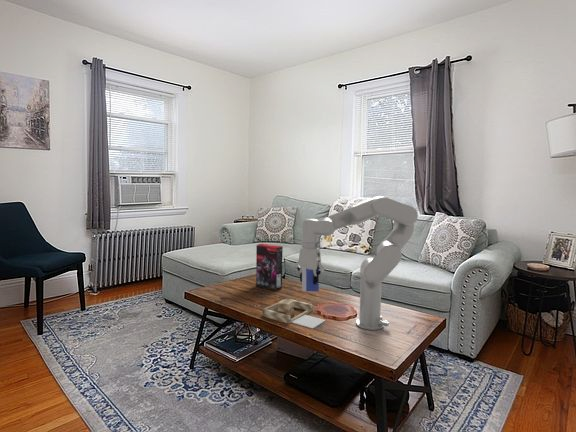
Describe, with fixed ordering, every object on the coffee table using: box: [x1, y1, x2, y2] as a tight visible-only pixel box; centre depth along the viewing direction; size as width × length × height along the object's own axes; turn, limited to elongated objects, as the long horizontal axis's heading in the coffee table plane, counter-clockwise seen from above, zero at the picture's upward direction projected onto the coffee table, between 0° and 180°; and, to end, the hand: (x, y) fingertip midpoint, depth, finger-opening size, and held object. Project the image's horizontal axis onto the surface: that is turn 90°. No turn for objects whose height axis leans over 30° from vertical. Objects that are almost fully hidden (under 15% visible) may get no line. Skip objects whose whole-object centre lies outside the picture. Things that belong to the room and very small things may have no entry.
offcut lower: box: [276, 308, 295, 318], centre depth 172 cm, size 6×6×4 cm
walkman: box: [301, 266, 320, 292], centre depth 165 cm, size 8×3×12 cm, turn 87°
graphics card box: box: [255, 243, 284, 291], centre depth 221 cm, size 17×7×27 cm, turn 54°
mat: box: [290, 314, 326, 330], centre depth 167 cm, size 12×12×1 cm
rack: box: [262, 298, 313, 324], centre depth 177 cm, size 16×21×4 cm
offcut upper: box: [277, 298, 294, 313], centre depth 171 cm, size 6×6×4 cm
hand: (308, 282), depth 165 cm, fingers closed on walkman, 6 cm apart
